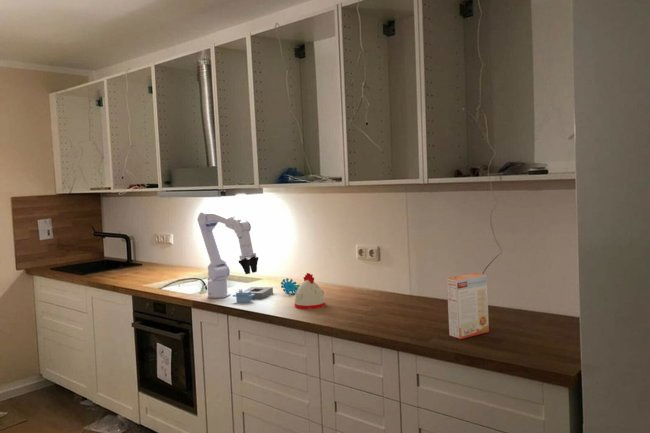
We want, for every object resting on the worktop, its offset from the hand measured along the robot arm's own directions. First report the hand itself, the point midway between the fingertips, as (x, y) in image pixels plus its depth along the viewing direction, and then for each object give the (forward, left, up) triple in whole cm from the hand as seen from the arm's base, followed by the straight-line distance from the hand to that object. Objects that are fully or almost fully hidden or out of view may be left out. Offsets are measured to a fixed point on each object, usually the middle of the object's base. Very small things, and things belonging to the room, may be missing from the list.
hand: (251, 273), depth 251 cm
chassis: (-3, +12, -14) cm, 18 cm away
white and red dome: (+31, -5, -14) cm, 34 cm away
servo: (-4, -1, -14) cm, 15 cm away
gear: (+13, +19, -14) cm, 27 cm away
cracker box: (+102, -41, -14) cm, 111 cm away
